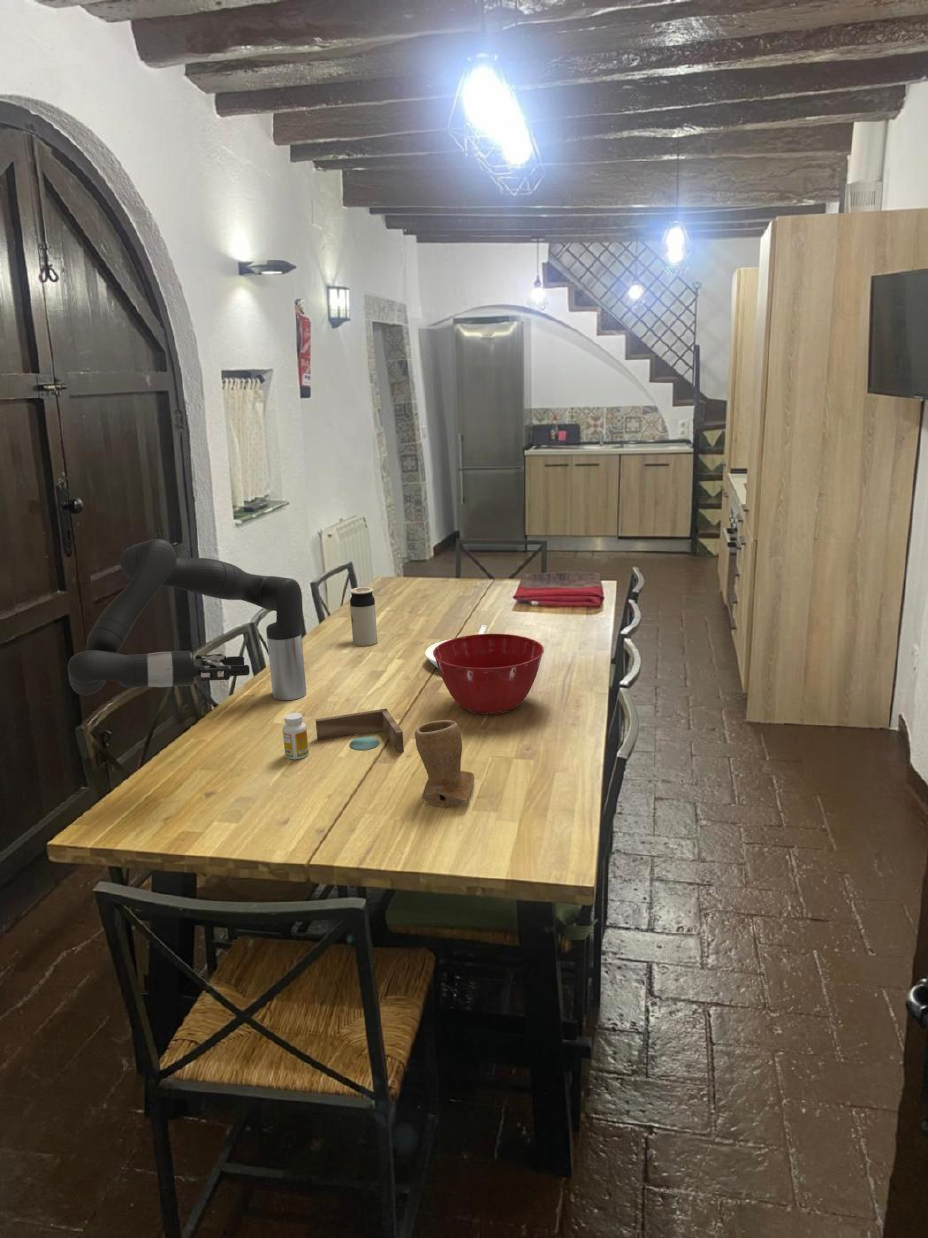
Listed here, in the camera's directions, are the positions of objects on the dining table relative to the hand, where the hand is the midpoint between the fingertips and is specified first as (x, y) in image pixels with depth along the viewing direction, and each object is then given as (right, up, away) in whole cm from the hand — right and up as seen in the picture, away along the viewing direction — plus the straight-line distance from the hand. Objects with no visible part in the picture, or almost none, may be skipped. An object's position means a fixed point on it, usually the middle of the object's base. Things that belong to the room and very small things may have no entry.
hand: (246, 665), depth 198 cm
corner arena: (+23, -20, +14) cm, 33 cm away
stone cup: (+44, -26, -12) cm, 53 cm away
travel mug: (+16, +2, +95) cm, 96 cm away
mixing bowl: (+55, -12, +36) cm, 67 cm away
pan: (+52, -1, +79) cm, 94 cm away
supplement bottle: (+9, -22, +9) cm, 25 cm away
